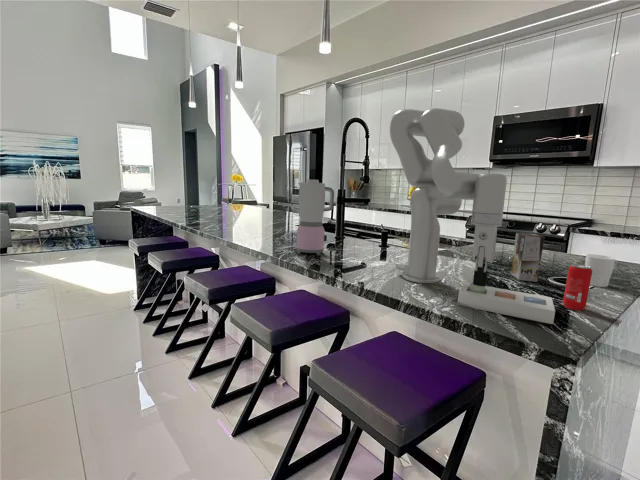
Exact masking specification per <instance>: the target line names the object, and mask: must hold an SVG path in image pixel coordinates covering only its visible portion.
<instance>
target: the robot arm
mask: <svg viewBox="0 0 640 480" xmlns="http://www.w3.org/2000/svg"><path fill="white" fill-rule="evenodd" d="M464 128H465V119H464V117H463V115H462V114H461V113H460V112H459V111H456V110H452V109H443V108H430V109H428V110H426V111H425V110H418V109H414V108H411V109H410V108H407V109H406V108H405V109H400V110H398V111H396V112H395V113H394V114H393V115H392V118H391V120H390V126H389V135H390V140H391V143H392V145H393V147H394V149H395V152H396V153H397V155H398V157H399V159H400V160H399V161H400V164H401V166H402V170H403V172H404V176H405V178H406V180H407V183H408V184H409V185H410V186H412V187H415V189H414V190H413V191H412V192H411V195H410V198H409V204H410V205H409V206H410V214H411V215H410V216H411V217H410V231H409V233H410V235H409V243H408V244H409V245H408V254H407V255H408V256H407V262H406V263H400V262H396V263H395V268H396V270H399V271H403V272H402V273H401V277H402V278H403V280H407V281H410V282H414V283H419V284H436V283H439V282H440V280H441V277H440V276H439V274H436V273H437V263H438V257H439V256H438V254H439V247H440V246H439V245H440V235H441V225H440V221H439V219H438V217H437V216H441V215H442V216H444V215H445V216H447V215H453V214H455V213H457V212H458V211H460V209H461V207H462V204H463V203H462V202H463V200H464V201H465V200H466V201H472V212H471V218H470V219H471V222H470V224H471V225H473V226H475V227H474V235H473V247H472V249H473V250H472V260H473V261H474V262H475V266H474V267H475V268H474V271H473V281H472V282H473V285H478V286H487V280H488V265H489V264H492V263H494V260H495V256H496V255H495V252H496V245H497V235H498V233H497V232H498V227H502V224H503V215H504V206H505V198H506V192H507V191H506V190H507V181H508V180H507V179H508V178H507V176H506V175H505V174H503V173H495V172H494V173H493V172H491V173H488V172H487V173H486V172H485V173H472V172H471V173H469V172H460V171H459V172H456V171H455V169H454V167H453V165H452V164H451V162H450V159H451V158H453V157H455V156H457V154H458V153H459V152H460V151H461V150H462V147H463V141H462V139H461V137H460V135H462V133H463V132H464ZM414 136H415V137H423V138H426V140H427V143H428V145H429V146H430V148H431V151H432V152H433V155H434V156H433V158H432V159H429V158H428V157H427V154H426V153H425V151H424V147H423V146H422V144H421V143H420V141H418V140H417V139H416V138H415V137H414Z"/></svg>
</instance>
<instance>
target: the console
mask: <svg viewBox="0 0 640 480" xmlns="http://www.w3.org/2000/svg"><path fill="white" fill-rule="evenodd" d="M470 283H471V282H470ZM470 283H469V282H464V283H463V285H462V286H461V288H460V289H459V291H458V295H457V296H458V297H457V304H456V305H457V306H463V307H466V308H472V309H476V310H481V311H486V312H491V313H495V314H501V315H506V316H510V317H515V318H520V319H524V320H530V321H534V322H535V321H536V322H540V323H545V324H548V325H549V324H550V325H553V324H554V323H555V322H554V321H555V320H554V319H555V314H556V307H555V306H554V302H553V299H552V297H550V296H544V295H540V294H539V295H538V294H533V293H528V292H522V291H516V290H509V289H504V288H498V287H493V286H487V285H486V287H485V294H481V293H476V292H471V291H469V288H470ZM497 292H507V293H510V294H513V299H509V298H503V297H498V296H497ZM527 297H535V298H539V299H542V300H544V305H542V304H536V303H531V302H526V298H527Z"/></svg>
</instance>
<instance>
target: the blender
mask: <svg viewBox="0 0 640 480" xmlns="http://www.w3.org/2000/svg"><path fill="white" fill-rule="evenodd" d="M297 184H298V185H299V189H298V213H299V224H298V227H297V229H296V247H295V250H296V254H298V255H301V254H302V253H306V254H316V256H321V254H322V253H323V252H324V250H325V248H324V246H325V242H327V241H328V240H327V239H328V238H327V236H328V235H326V234H325V228H324V226H323V218H324V212H331V211H332V210H333V209H334V202H335V190H334V189H333V188H332V187H328V186H326V184H325V183H324V182H320V181H319V179H308V178H307V179H306V182H297ZM326 192H329V206H325V205H326Z"/></svg>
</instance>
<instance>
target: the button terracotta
mask: <svg viewBox="0 0 640 480" xmlns="http://www.w3.org/2000/svg"><path fill="white" fill-rule="evenodd" d="M497 296H498V297H503V298H509V299H513V294H510V293H507V292H497Z"/></svg>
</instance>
